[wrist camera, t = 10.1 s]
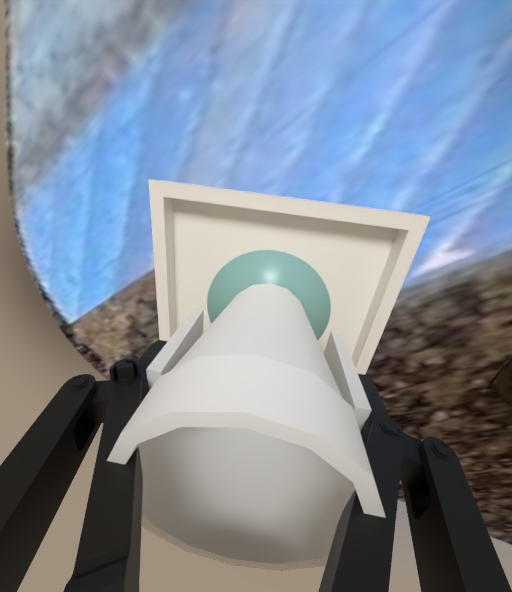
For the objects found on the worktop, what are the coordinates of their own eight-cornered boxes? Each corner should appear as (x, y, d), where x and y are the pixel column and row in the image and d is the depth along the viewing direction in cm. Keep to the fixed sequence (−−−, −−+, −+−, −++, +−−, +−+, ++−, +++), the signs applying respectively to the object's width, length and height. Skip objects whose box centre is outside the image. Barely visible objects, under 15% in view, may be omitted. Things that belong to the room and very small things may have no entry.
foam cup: (281, 378, 22) (276, 588, 11) (195, 330, 21) (82, 508, 9) (348, 303, 18) (458, 507, 7) (246, 240, 17) (162, 352, 6)
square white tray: (165, 180, 19) (148, 179, 16) (411, 213, 17) (430, 216, 15) (173, 366, 27) (162, 382, 24) (342, 396, 26) (347, 416, 23)
